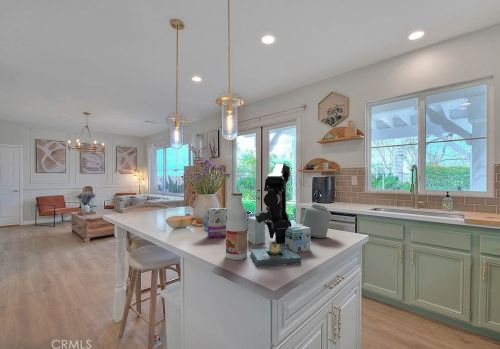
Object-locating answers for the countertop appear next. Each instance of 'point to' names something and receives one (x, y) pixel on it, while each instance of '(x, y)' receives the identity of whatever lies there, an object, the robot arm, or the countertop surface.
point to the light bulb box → (298, 238)
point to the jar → (317, 220)
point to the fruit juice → (236, 229)
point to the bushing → (274, 249)
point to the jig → (275, 257)
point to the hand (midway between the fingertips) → (274, 241)
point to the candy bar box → (217, 222)
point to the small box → (256, 231)
